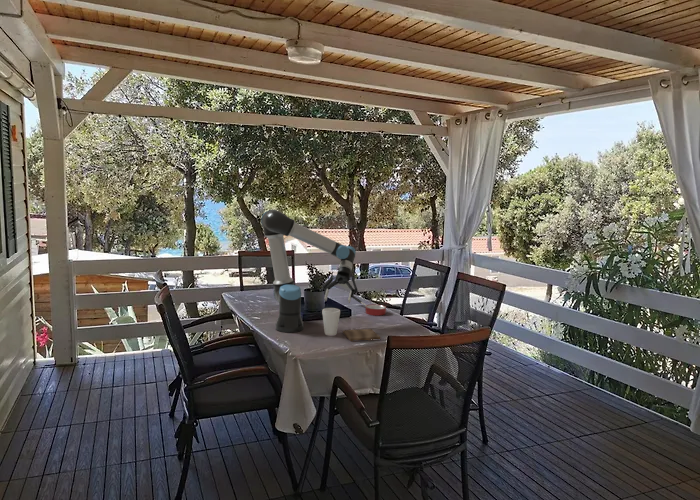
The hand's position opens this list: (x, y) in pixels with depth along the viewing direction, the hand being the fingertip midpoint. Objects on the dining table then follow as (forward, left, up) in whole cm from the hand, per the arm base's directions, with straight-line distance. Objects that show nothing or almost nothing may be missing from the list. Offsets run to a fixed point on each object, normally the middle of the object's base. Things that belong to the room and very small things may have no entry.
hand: (337, 300), depth 268 cm
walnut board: (+10, -16, -16) cm, 25 cm away
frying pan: (+30, +39, -16) cm, 52 cm away
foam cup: (-5, -9, -16) cm, 19 cm away
